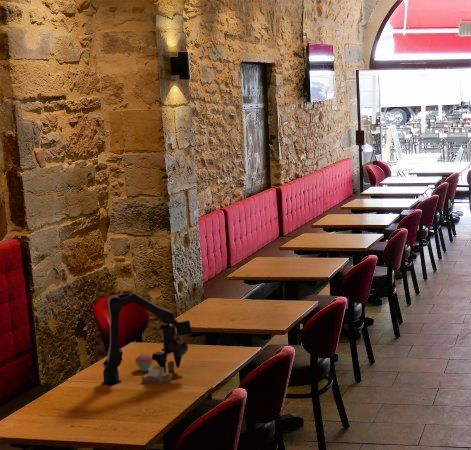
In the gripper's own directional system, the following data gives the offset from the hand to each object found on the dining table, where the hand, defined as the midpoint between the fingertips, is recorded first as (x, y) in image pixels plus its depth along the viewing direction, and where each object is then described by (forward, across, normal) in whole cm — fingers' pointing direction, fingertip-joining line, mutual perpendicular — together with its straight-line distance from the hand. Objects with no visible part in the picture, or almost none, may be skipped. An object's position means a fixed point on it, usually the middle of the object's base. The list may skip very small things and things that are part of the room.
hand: (171, 370), depth 400 cm
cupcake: (+2, 0, +17) cm, 17 cm away
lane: (+2, -10, 0) cm, 10 cm away
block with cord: (+2, -6, 0) cm, 6 cm away
